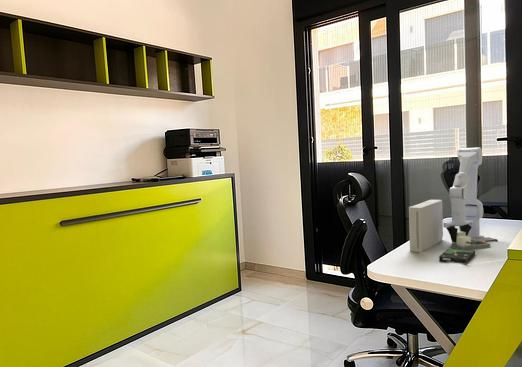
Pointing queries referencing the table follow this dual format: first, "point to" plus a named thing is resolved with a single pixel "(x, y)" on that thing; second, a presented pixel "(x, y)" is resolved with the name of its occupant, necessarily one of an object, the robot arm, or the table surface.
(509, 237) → the table surface
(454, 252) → the disk drive
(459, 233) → the block
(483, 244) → the grey double frame
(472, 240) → the phone
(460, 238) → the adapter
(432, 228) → the game console
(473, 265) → the table surface
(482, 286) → the table surface
